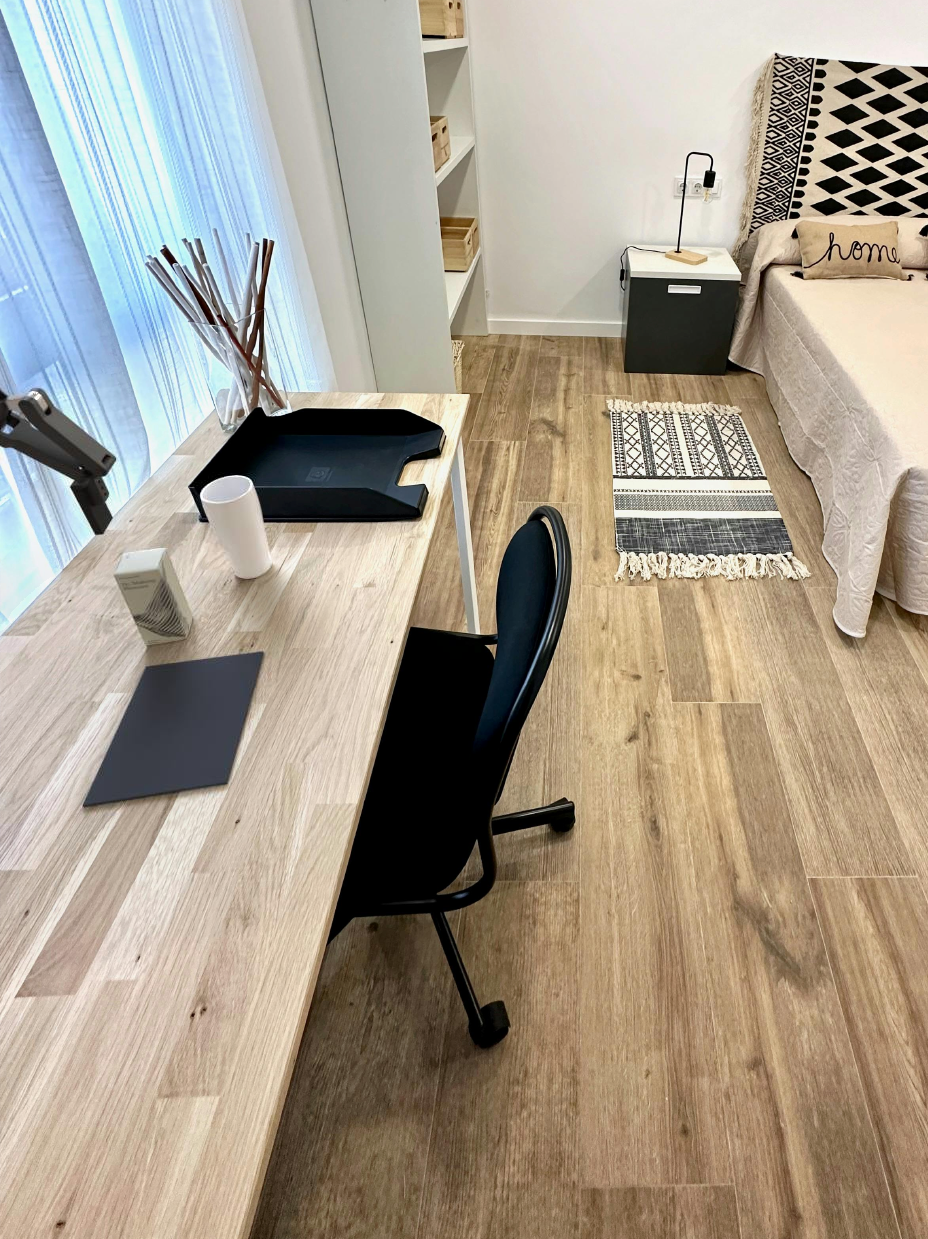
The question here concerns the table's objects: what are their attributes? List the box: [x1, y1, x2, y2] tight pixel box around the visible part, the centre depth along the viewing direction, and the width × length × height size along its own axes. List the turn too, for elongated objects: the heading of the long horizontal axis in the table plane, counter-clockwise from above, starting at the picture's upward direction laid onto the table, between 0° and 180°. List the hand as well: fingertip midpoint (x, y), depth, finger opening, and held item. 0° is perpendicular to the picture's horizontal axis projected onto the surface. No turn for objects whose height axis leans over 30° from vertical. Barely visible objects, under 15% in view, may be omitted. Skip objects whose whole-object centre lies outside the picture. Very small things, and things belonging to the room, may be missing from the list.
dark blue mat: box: [82, 650, 265, 808], centre depth 78 cm, size 14×18×1 cm
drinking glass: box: [199, 475, 273, 580], centre depth 95 cm, size 7×7×15 cm
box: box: [113, 547, 194, 646], centre depth 85 cm, size 5×4×13 cm
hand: (31, 533), depth 69 cm, fingers open, 13 cm apart
